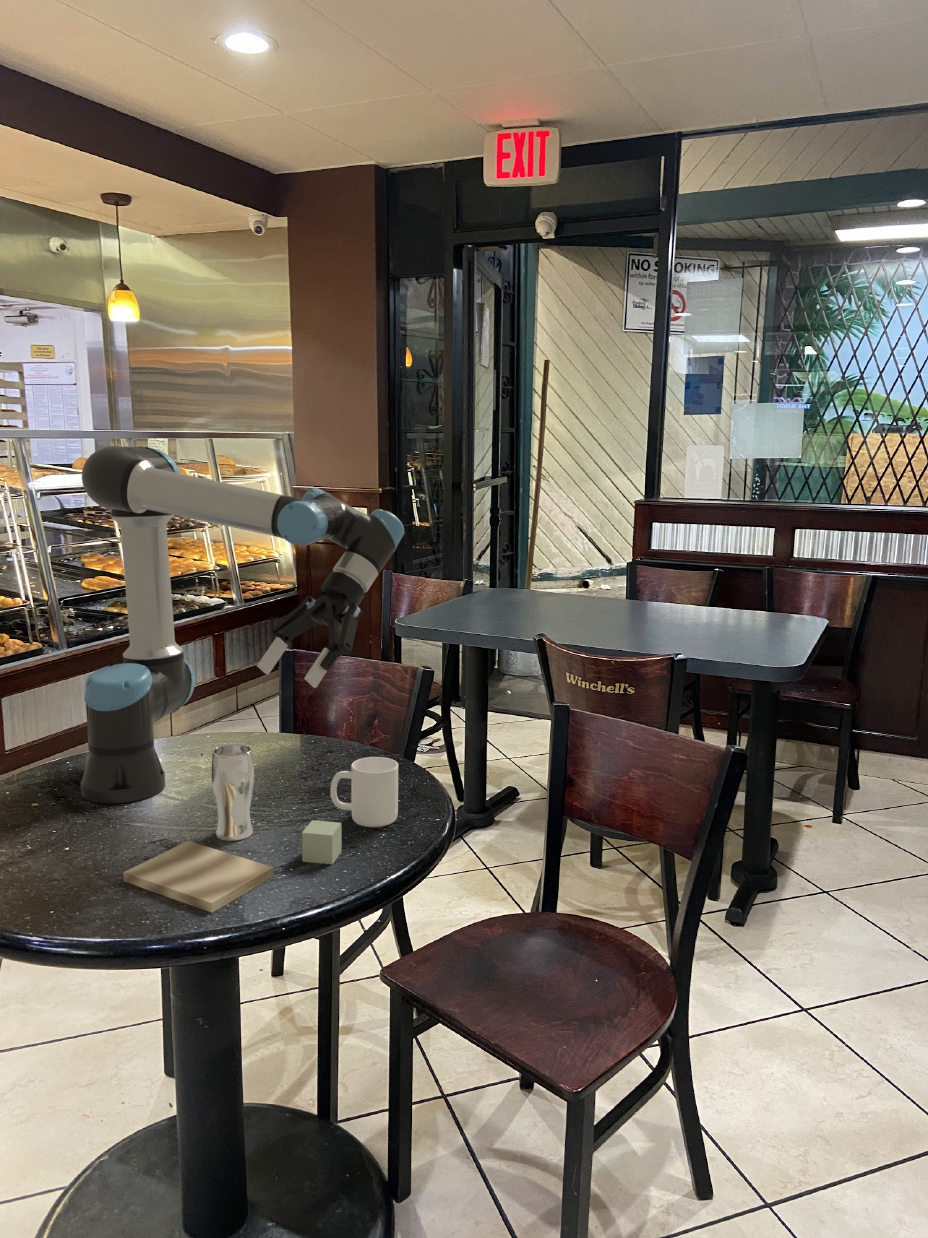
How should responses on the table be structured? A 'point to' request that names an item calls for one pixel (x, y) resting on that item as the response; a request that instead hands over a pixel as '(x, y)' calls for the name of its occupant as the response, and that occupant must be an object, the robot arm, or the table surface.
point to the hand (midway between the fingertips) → (285, 676)
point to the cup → (370, 791)
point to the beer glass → (233, 790)
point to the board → (199, 875)
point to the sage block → (321, 842)
